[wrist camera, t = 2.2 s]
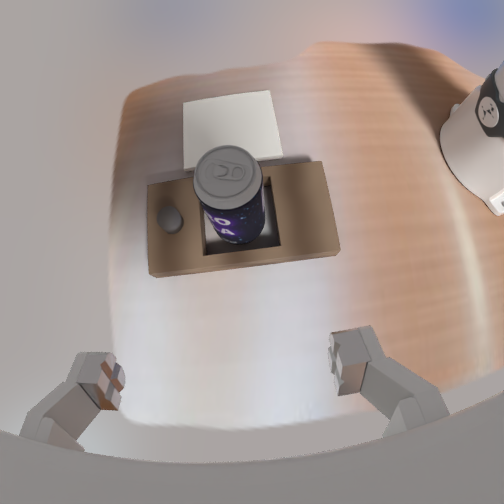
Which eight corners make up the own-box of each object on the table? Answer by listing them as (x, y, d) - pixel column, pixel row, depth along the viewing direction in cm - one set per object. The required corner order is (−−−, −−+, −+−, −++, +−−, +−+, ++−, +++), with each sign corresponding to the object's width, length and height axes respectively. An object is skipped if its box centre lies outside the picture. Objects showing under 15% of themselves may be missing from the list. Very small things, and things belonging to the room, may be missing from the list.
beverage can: (219, 196, 36) (197, 138, 24) (268, 201, 35) (266, 143, 24) (210, 243, 35) (182, 201, 23) (261, 249, 34) (256, 208, 23)
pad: (269, 93, 39) (269, 90, 39) (282, 158, 37) (282, 154, 36) (184, 106, 40) (183, 102, 39) (185, 171, 37) (183, 168, 36)
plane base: (318, 171, 36) (324, 151, 32) (335, 255, 33) (345, 244, 29) (154, 193, 37) (141, 177, 32) (156, 277, 34) (141, 270, 30)
